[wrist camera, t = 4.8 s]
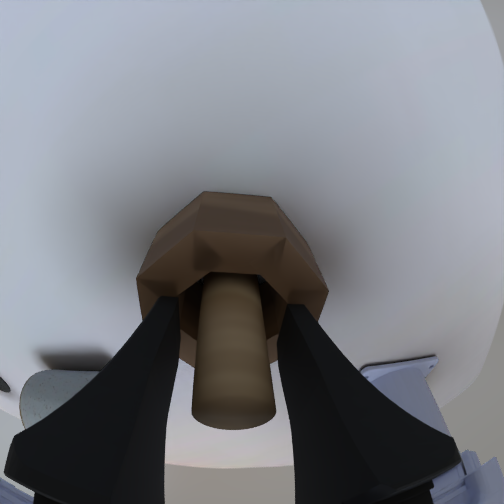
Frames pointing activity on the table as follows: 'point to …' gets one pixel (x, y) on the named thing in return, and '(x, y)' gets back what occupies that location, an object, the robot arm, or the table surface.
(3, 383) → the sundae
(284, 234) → the bead
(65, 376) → the ceramic mug
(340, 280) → the table surface
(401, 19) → the table surface
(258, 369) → the dowel
